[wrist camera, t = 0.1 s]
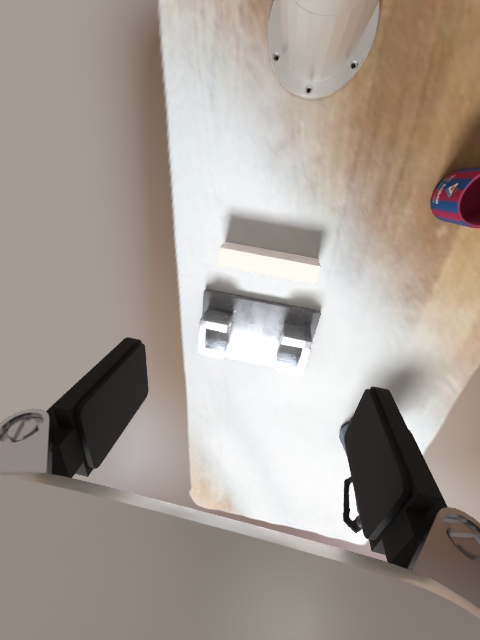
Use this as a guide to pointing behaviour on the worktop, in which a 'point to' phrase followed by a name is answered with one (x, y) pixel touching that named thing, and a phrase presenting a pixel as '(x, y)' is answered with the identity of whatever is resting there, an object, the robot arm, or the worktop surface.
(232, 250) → the slat
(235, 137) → the worktop surface
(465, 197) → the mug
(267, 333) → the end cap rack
